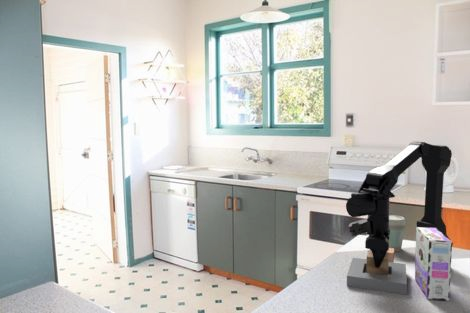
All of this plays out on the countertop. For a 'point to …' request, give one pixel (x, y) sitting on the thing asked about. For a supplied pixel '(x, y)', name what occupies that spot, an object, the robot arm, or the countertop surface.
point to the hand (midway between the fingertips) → (377, 263)
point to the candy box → (433, 263)
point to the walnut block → (374, 270)
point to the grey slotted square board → (378, 277)
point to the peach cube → (391, 254)
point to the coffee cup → (396, 231)
